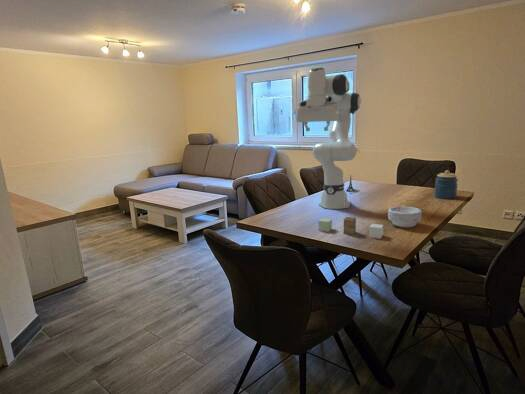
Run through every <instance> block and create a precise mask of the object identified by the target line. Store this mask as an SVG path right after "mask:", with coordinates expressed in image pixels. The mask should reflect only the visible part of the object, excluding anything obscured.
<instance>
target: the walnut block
mask: <svg viewBox="0 0 525 394" xmlns="http://www.w3.org/2000/svg"><path fill="white" fill-rule="evenodd" d="M356 228H357V217H352V216H346V217H345V218H344V219H343V235H344V234H345V235H351V236H354V235H355V234H356V232H357V230H356Z"/></svg>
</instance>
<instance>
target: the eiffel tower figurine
mask: <svg viewBox="0 0 525 394" xmlns="http://www.w3.org/2000/svg"><path fill="white" fill-rule="evenodd" d="M345 192H346V193H347V192H348V193H349V194H350V195H352V194H354V193H358V192H361V190H359V189H355V188H354V187H353V184H352V175H351V174H350V179H349V185H348V187H347V189H345Z"/></svg>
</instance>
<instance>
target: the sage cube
mask: <svg viewBox="0 0 525 394" xmlns="http://www.w3.org/2000/svg"><path fill="white" fill-rule="evenodd" d="M332 225H333V219H331V218H327V217H326V218H325V217H322V218H320V219H319V220H318V231H320V232H326V233H328V232H330V231H331V230H332V229H333V226H332Z"/></svg>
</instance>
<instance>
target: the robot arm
mask: <svg viewBox="0 0 525 394" xmlns="http://www.w3.org/2000/svg"><path fill="white" fill-rule="evenodd" d="M307 90H308V93H307V98H306V99H304V100H302V101H299V102H298V108H297V111H296V122H298V123H303V126H304V127H305V131H306V132H310V131H311V130H310V129H311V127H309V126H308V125H309V123H311V122H312V123H315V122H318V123H319V122H326V126H324V127H323V129H324V130H323V131H325V132H328V131H329V133H328V135H329V138H330V140H331V142H330V141H329V142H325V141H324V142H323V141H322V142H319V143H316V144H315V145H314V146H313V148H312V155H313V157H314V158H313V159H315V160H316V161H317V162H318V163H319V164H320V166H321V167H322V170H323V175H324V176H323V177H324V183H323V191H321V193H320V195H321V197H320V202H319V203H318V206H320V207H322V209H329V210H341V209H347V208H348V209H349V208H350V205H351V200H348V195H347V194H348V193H347V191H346V190H345V182H344V170H343V169H342V168H340V167H339V166H337V165H336V164H335V162H348V161H352V160H354V159H355V157H356V155H357V147H356V145H355V144H354V143H352V142H351V141H350V140H349V133H350V127H351V122H352V121H351V120H352V118H351V114H352V115H354V114H355V113H356V112H357V111H358V110H359V109H360V107H361V103H362V100H361V99H362V98H361V95H360V94H359V93H358V92H357V93H356V92H349V91H350V81H349V80H348V76H347V75H345V74H341V73H340V74H336V75H327V76H326V69H325V68H324V67H317V68H316V67H315V68H310V70H309V71H308V75H307ZM331 122H332V123H331ZM330 125H331V126H330ZM329 126H330V130H329Z"/></svg>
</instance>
